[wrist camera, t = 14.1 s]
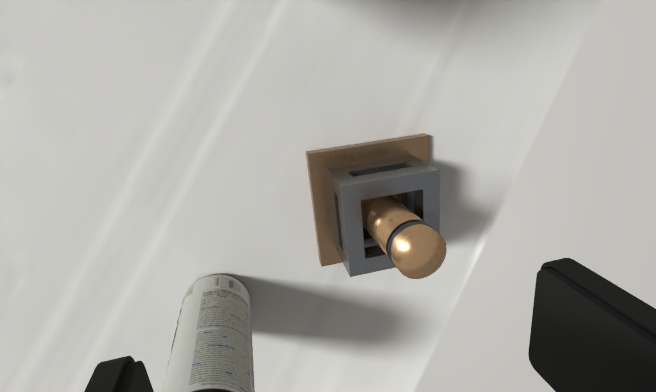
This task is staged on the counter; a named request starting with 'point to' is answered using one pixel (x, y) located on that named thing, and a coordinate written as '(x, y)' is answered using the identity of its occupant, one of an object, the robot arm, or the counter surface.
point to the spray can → (212, 339)
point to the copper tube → (403, 236)
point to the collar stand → (368, 195)
